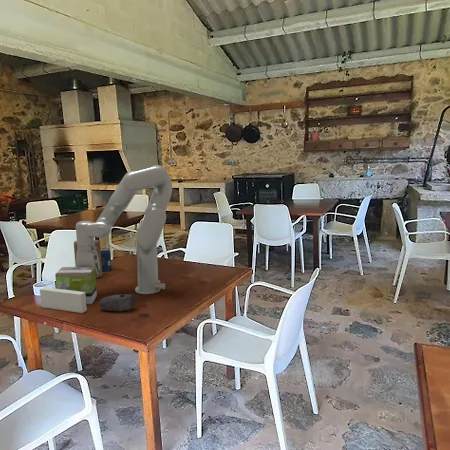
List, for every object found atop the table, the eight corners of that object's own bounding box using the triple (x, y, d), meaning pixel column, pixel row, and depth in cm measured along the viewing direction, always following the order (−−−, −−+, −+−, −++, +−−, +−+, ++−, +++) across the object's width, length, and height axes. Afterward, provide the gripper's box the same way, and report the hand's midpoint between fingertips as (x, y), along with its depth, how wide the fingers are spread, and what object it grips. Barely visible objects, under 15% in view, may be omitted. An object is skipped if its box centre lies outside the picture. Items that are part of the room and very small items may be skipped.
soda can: (96, 270, 223) (94, 250, 221) (105, 267, 229) (103, 247, 227) (105, 272, 220) (103, 251, 218) (114, 269, 226) (112, 248, 224)
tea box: (57, 305, 172) (54, 273, 170) (64, 297, 182) (61, 266, 180) (92, 304, 174) (90, 271, 171) (97, 296, 184) (95, 265, 181)
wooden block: (86, 281, 204) (83, 243, 201) (75, 278, 210) (72, 241, 207) (103, 276, 212) (100, 240, 209) (91, 273, 218) (89, 237, 215)
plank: (86, 310, 167) (85, 292, 166) (82, 313, 164) (80, 294, 163) (46, 304, 174) (44, 287, 172) (41, 307, 171) (39, 289, 170)
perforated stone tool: (97, 312, 165) (96, 297, 164) (102, 307, 170) (100, 292, 169) (133, 313, 164) (132, 297, 163) (136, 308, 169) (135, 292, 168)
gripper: (105, 247, 182) (107, 285, 186) (78, 245, 187) (80, 282, 190) (94, 251, 175) (97, 291, 179) (67, 248, 180) (70, 287, 183)
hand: (88, 286), depth 184 cm, fingers closed
